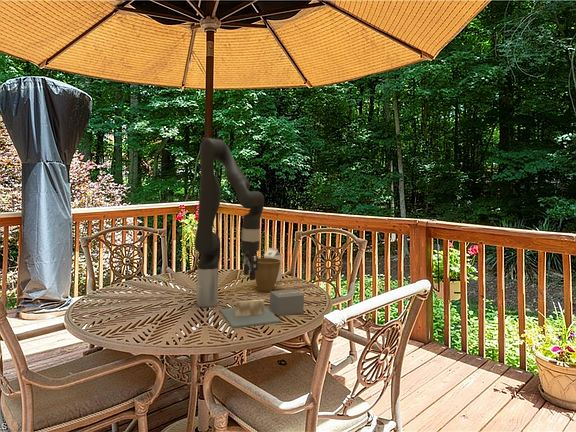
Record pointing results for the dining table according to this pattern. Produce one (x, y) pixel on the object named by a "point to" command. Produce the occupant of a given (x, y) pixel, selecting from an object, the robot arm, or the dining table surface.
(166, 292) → the dining table surface
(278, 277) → the milk carton
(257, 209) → the robot arm
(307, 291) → the dining table surface
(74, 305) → the dining table surface
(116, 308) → the dining table surface
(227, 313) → the mat
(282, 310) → the grey rectangular block
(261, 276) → the plant pot
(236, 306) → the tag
